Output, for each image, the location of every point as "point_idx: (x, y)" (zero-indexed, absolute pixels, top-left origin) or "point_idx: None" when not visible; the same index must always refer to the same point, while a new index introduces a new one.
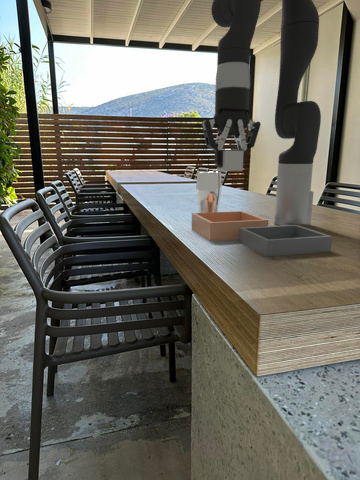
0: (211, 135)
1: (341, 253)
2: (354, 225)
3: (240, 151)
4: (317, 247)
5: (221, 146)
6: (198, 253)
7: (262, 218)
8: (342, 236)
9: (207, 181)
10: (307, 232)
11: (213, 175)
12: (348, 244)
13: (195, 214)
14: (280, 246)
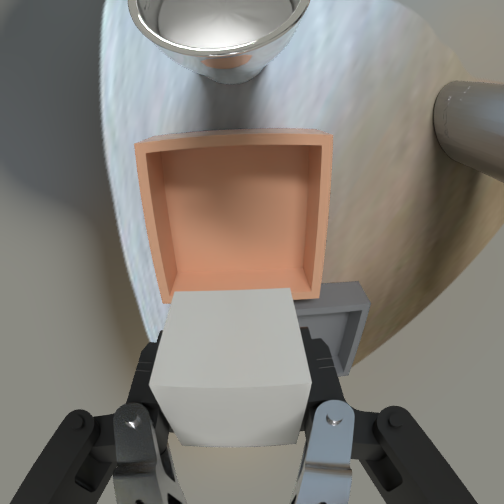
0: (90, 493)
1: (367, 343)
2: None
3: (277, 441)
4: None
5: (161, 453)
6: (146, 313)
7: (319, 277)
8: (458, 258)
9: (185, 63)
10: (352, 337)
11: (221, 59)
12: (419, 305)
13: (141, 174)
14: None
